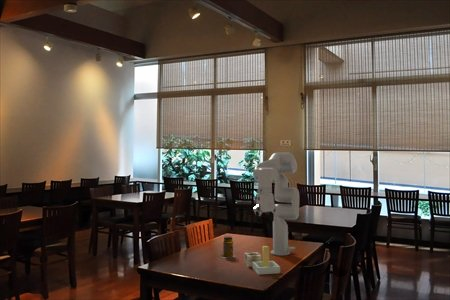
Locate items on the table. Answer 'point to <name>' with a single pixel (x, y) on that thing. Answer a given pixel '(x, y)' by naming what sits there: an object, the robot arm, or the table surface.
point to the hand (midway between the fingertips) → (265, 222)
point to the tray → (266, 268)
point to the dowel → (265, 256)
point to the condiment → (227, 247)
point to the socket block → (251, 258)
